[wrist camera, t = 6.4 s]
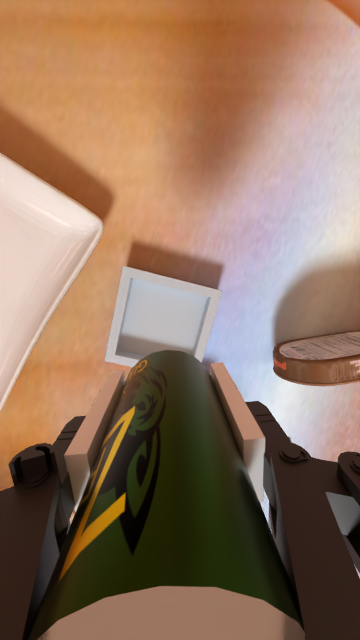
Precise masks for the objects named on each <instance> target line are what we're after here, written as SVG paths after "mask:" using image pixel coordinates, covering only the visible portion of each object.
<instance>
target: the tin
mask: <svg viewBox="0 0 360 640" xmlns="http://www.w3.org/2000/svg"><path fill="white" fill-rule="evenodd" d="M273 360H274V367H273V370H274V372H275V374H276V375H278V376H279V377H280V378H282V379H284V380H287V381H290V382H293V383H297V384H302V385H310V386H335V385H342V384H348V383H355V382H360V331H351V332H344V333H337V334H330V335H323V336H316V337H310V338H303V339H297V340H292V341H287V342H284V343H281V344H279V345H277V346H276V347H275V348H274V350H273Z"/></svg>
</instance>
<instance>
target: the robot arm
mask: <svg viewBox="0 0 360 640" xmlns="http://www.w3.org/2000/svg"><path fill="white" fill-rule="evenodd" d="M211 378H212V381H213V383H214V386H215V388H216V391H217V393H218V396H219V399H220V401H221V404H222V406H223V409H224V412H225V414H226V417H227V419H228V422H229V424H230V427H231V430H232V432H233V435H234V437H235V440H236V443H237V445H238V448H239V450H240V453H241V455H242V458H243V461H244V463H245V466H246V468H247V471H248V474H249V476H250V479H251V481H252V484H253V486H254V489H255V492H256V494H257V497H258V499H259V501H264V490H265V492H266V494H267V497H268V499H269V528H270V529H271V530H272V536H273V538H274V541H275V543H276V546H277V549H278V551H279V554H280V556H281V559H282V561H283V564H284V567H285V569H286V572H287V574H288V577H289V580H290V582H291V585H292V588H293V592H294V595H295V599H296V602H297V606H298V610H299V613H300V617H301V620H302V624H303V627H304V631H305V636H306V640H360V578H359V576H358V573H357V571H356V568H357V570H358V571H359V573H360V453H357V452H344V453H341V454H340V455H339V457H338V462H332V461H326V460H320V459H316V458H313V457H311V456H310V455H309V453H308V452H307V451H306V450H305V449H303V448H302V447H300V446H298V445H296V444H294V443H292V442H291V441H290V439H289V438H288V437H287V435H286V434H285V432H284V431H283V429H282V428H281V427H280V425H279V424H278V422H277V421H276V419H275V418H274V417H273V415H272V414H271V412H270V411H269V409H268V408H267V407H266V406H265V405H263V404H262V403H260V402H259V401H253V402H245V401H244V399H243V398H242V396H241V394H240V392H239V391H238V389H237V387H236V385H235V383H234V382H233V380H232V378H231V376H230V375H229V373H228V371H227V369H226V368H225V366H224V364H223V363H211ZM124 385H125V376H124V370H118V371H111V372H110V374H109V376H108V378H107V380H106V381H105V383H104V385H103V387H102V389H101V390H100V392H99V394H98V396H97V397H96V399H95V401H94V403H93V405H92V406H91V408H90V410H89V412H88V414H87V415H86V416H78V417H74V418H73V419H72V420H71V421H70V422H68V423H67V424H66V425H65V427H64V429H63V430H62V432H61V434H60V435H59V436H58V438H57V440H56V441H55V442H54V444H53V445H51V444H47V443H42V444H36V445H33V446H31V447H28V448H26V449H25V450H23V451H21V452H20V453H18V454H17V455H16V456H15V457H14V458H13V459H12V460H11V462H10V463H9V468H10V471H11V475H12V479H13V483H14V486H13V487H11V488H9V489H6V490H3V491H0V640H27V639H28V637H29V634H30V631H31V628H32V625H33V623H34V620H35V618H36V615H37V612H38V610H39V607H40V604H41V602H42V599H43V597H44V594H45V591H46V589H47V586H48V584H49V581H50V578H51V576H52V573H53V570H54V568H55V565H56V563H57V560H58V557H59V555H60V552H61V549H62V547H63V544H64V542H65V539H66V536H67V534H68V531H69V529H70V521H69V519H70V517H71V514H72V512H73V509H74V507H75V511H76V510H77V508H78V505H79V502H80V500H81V497H82V494H83V492H84V489H85V487H86V484H87V481H88V479H89V476H90V474H91V471H92V468H93V466H94V463H95V460H96V458H97V455H98V453H99V450H100V447H101V445H102V442H103V440H104V437H105V434H106V432H107V429H108V426H109V424H110V421H111V419H112V416H113V413H114V411H115V408H116V405H117V403H118V400H119V398H120V395H121V392H122V390H123V387H124ZM354 565H355V566H356V568H355V566H354Z"/></svg>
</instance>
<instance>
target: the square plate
mask: <svg viewBox="0 0 360 640" xmlns="http://www.w3.org/2000/svg"><path fill="white" fill-rule="evenodd" d="M103 229H104V224H103V221H102V220H101V219H100V218H99V217H98V216H97V215H95V214H94V213H93V212H91V211H90V210H89V209H87V208H86V207H84V206H83V205H81V204H80V203H79V202H77V201H76V200H74V199H72V198H71V197H69V196H68V195H66V194H64V193H63V192H61V191H60V190H58V189H56V188H55V187H53V186H52V185H50V184H49V183H47V182H46V181H44V180H42V179H41V178H39V177H38V176H36V175H35V174H33V173H32V172H30V171H28V170H27V169H25V168H24V167H22V166H21V165H20V164H18V163H16V162H15V161H13V160H12V159H10V158H8V157H7V156H5V155H4V154H2V153H1V152H0V410H1V408H2V407H3V405H4V403H5V401H6V399H7V398H8V396H9V393H10V392H11V390H12V388H13V386H14V383H15V381H16V380H17V378H18V376H19V374H20V372H21V370H22V368H23V366H24V364H25V362H26V360H27V358H28V356H29V355H30V353H31V351H32V349H33V347H34V345H35V344H36V342H37V340H38V338H39V336H40V335H41V333H42V331H43V329H44V328H45V326H46V324H47V323H48V321H49V319H50V318H51V316H52V314H53V313H54V311H55V310H56V308H57V306H58V305H59V303H60V302H61V300H62V298H63V297H64V295H65V294H66V292H67V291H68V289H69V288H70V286H71V284H72V283H73V281H74V280H75V278H76V277H77V275H78V274H79V272H80V271H81V269H82V267H83V266H84V264H85V263H86V261H87V260H88V258H89V257H90V255H91V253H92V252H93V250H94V248H95V247H96V245H97V243H98V242H99V240H100V238H101V236H102V233H103Z"/></svg>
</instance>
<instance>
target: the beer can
mask: <svg viewBox="0 0 360 640" xmlns="http://www.w3.org/2000/svg"><path fill="white" fill-rule="evenodd" d="M27 640H306V636H305V631H304V627H303V624H302V620H301V617H300V613H299V610H298V606H297V602H296V599H295V595H294V592H293V588H292V585H291V582H290V580H289V577H288V574H287V572H286V569H285V567H284V564H283V561H282V559H281V556H280V554H279V551H278V549H277V546H276V543H275V541H274V538H273V536H272V533H271V530H270V528H269V525H268V523H267V520H266V518H265V515H264V512H263V510H262V507H261V505H260V502H259V499H258V497H257V494H256V492H255V489H254V486H253V484H252V481H251V479H250V476H249V474H248V471H247V468H246V466H245V463H244V461H243V458H242V455H241V453H240V450H239V448H238V445H237V443H236V440H235V437H234V435H233V432H232V430H231V427H230V424H229V422H228V419H227V417H226V414H225V412H224V409H223V406H222V404H221V401H220V399H219V396H218V393H217V391H216V388H215V386H214V383H213V381H212V378H211V376H210V374H209V372H208V371H207V369H206V367H205V365H204V364H202V363H201V362H200V361H199V360H198V359H197V358H195V357H194V356H192V355H190V354H187V353H185V352H182V351H176V350H163V351H158V352H153V353H151V354H149V355H147V356H146V357H144V358H142V359H140V360H139V361H138V362H137V364H136V365H135V366H134V367H133V368H132V369H131V370H130V373H129V375H128V377H127V380H126V382H125V385H124V387H123V390H122V392H121V395H120V398H119V400H118V403H117V405H116V408H115V411H114V413H113V416H112V419H111V421H110V424H109V426H108V429H107V432H106V434H105V437H104V440H103V442H102V445H101V447H100V450H99V453H98V455H97V458H96V460H95V463H94V466H93V468H92V471H91V474H90V476H89V479H88V481H87V484H86V487H85V489H84V492H83V494H82V497H81V500H80V502H79V505H78V508H77V510H76V513H75V515H74V518H73V521H72V523H71V526H70V529H69V531H68V534H67V536H66V539H65V542H64V544H63V547H62V549H61V552H60V555H59V557H58V560H57V563H56V565H55V568H54V570H53V573H52V576H51V578H50V581H49V584H48V586H47V589H46V591H45V594H44V597H43V599H42V602H41V604H40V607H39V610H38V612H37V615H36V618H35V620H34V623H33V625H32V628H31V631H30V634H29V637H28V639H27Z"/></svg>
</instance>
